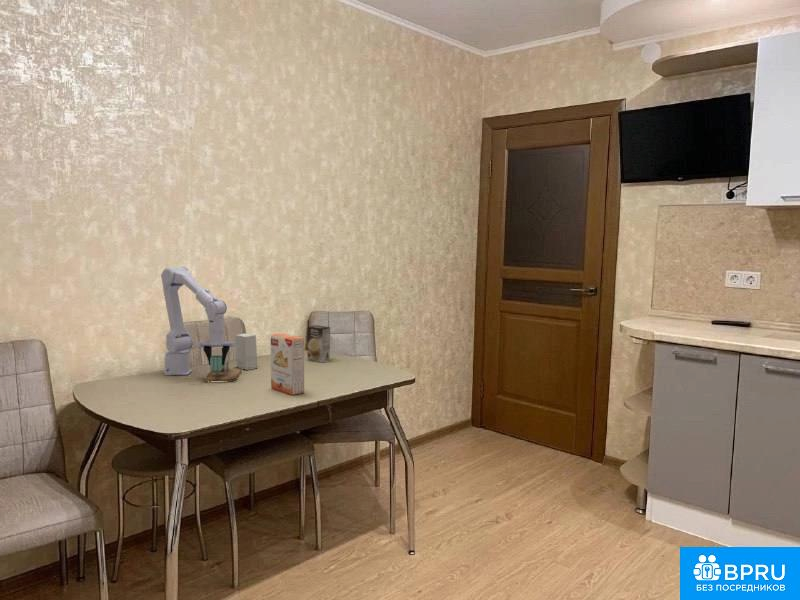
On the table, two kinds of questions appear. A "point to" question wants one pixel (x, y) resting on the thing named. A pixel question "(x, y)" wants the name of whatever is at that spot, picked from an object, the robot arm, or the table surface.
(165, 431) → the table surface
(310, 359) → the coffee box
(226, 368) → the fixed gear
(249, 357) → the skincare box
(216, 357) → the green grooved hollow block
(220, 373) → the gear board
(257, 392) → the table surface
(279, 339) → the cracker box
